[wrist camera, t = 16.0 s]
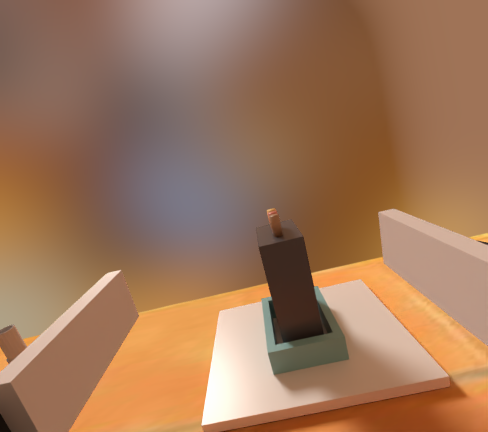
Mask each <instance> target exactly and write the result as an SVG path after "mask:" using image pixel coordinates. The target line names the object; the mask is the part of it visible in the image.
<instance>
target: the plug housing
mask: <svg viewBox="0 0 488 432" xmlns="http://www.w3.org/2000/svg"><path fill="white" fill-rule="evenodd" d="M267 214H268V218H269V223H270V225H266V226H262V227H258V228H256V233H257V240H258V246H259V250H260V254H261V258H262V262H263V266H264V270H265V274H266V278H267V281H268V286H269V290H270V294H271V297H272V301H273V305H274V309H275V313H276V317H277V321H278V325H279V329H280V333H281V337H282V340H283V343H286V342H291V341H295V340H300V339H305V338H309V337H314V336H319V335H323V334H324V332H323V327H322V322H321V318H320V313H319V308H318V304H317V299H316V294H315V289H314V285H313V280H312V275H311V271H310V266H309V261H308V257H307V252H306V247H305V242H304V237H303V235H302V234H301V232H300V231H299V229H298V228H297V227H296V225H295V224H294V222H293V221H292V220H291V219H290V220H287V221H282V222H280V220H279V215H278V214H277V211H276V210H275V209H274V208H273V209H269V210H267Z"/></svg>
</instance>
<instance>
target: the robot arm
mask: <svg viewBox="0 0 488 432" xmlns="http://www.w3.org/2000/svg"><path fill="white" fill-rule="evenodd" d="M378 214H379V223H380V232H381V241H382V251H383V260H384V264H385V265H387V266H388V267H389V268H390V269H392V270H393V271H394V272H395V273H397V274H398V275H399V276H401V277H402V278H403V279H404V280H406V281H407V282H408V283H409V284H411V285H412V286H413V287H414V288H416V289H417V290H418V291H419V292H421V293H422V294H423V295H424V296H426V297H427V298H428V299H429V300H431V301H432V302H433V303H434V304H436V305H437V306H438V307H439V308H441V309H442V310H443V311H444V312H446V313H447V314H448V315H449V316H451V317H452V318H453V319H454V320H456V321H457V322H458V323H459V324H461V325H462V326H463V327H464V328H466V329H467V330H468V331H469V332H471V333H472V334H473V335H475V336H476V337H477V338H478V339H480V340H481V341H482V342H483V343H485V344H486V345H487V346H488V243H487V242H481V241H476V240H473V239H471V238H468V237H465V236H463V235H460V234H458V233H455V232H453V231H450V230H447V229H445V228H442V227H440V226H437V225H435V224H432V223H429V222H427V221H424V220H421V219H419V218H416V217H414V216H411V215H409V214H406V213H404V212H401V211H399V210H396V209H391V210H386V211H382V212H378ZM138 317H139V315H138V312H137V310H136V307H135V304H134V302H133V300H132V297H131V294H130V292H129V289H128V286H127V284H126V281H125V278H124V276H123V273H122V271H121V270H119V271H114V272H110V273H107V274H106V275H105V276H103V277H102V278H101V279H100V280H99V281H98V282H97V283H96V284H95V285H94V286H93V287H92V288H91V289H89V290H88V291H87V292H86V293H85V294H84V295H83V296H82V297H81V298H80V299H79V300H78V301H77V302H75V303H74V304H73V305H72V306H71V307H70V308H69V309H68V310H67V311H66V312H65V313H64V314H62V315H61V316H60V317H59V318H58V319H57V320H56V321H55V322H54V323H53V324H52V325H51V326H50V327H49V328H48V329H46V330H45V331H44V332H43V333H42V334H41V335H40V336H39V337H38V338H37V339H36V340H34V341H33V342H32V343H31V344H30V345H29V346H28V347H27V348H26V349H25V350H24V351H23V352H22V353H20V354H19V355H18V356H17V357H16V358H15V359H14V360H13V361H12V362H11V363H10V364H9V365H8V366H6V367H5V368H4V369H3V370H2V371H1V372H0V432H68V431H69V430H70V428H71V427H72V425H73V423H74V422H75V420H76V418H77V417H78V415H79V413H80V412H81V410H82V409H83V407H84V405H85V404H86V402H87V400H88V399H89V397H90V395H91V394H92V392H93V390H94V389H95V387H96V386H97V384H98V382H99V381H100V379H101V377H102V376H103V374H104V372H105V371H106V369H107V368H108V366H109V364H110V363H111V361H112V359H113V358H114V356H115V354H116V353H117V351H118V349H119V348H120V346H121V345H122V343H123V341H124V340H125V338H126V336H127V335H128V333H129V331H130V330H131V328H132V327H133V325H134V323H135V322H136V320H137V318H138Z"/></svg>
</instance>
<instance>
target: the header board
mask: <svg viewBox="0 0 488 432" xmlns="http://www.w3.org/2000/svg"><path fill="white" fill-rule="evenodd" d="M314 289H315V294H316V299H317V304H318V308H319V313H320V318H321V322H322V327H323V332H324V334H323V335H319V336H314V337H309V338H305V339H300V340H295V341H291V342H286V343H283V340H282V337H281V333H280V329H279V325H278V321H277V317H276V313H275V309H274V305H273V301H272V297H267V298H263V299H262V302H258V303H253V304H249V305H244V306H240V307H235V308H231V309H227V310H222V311H220V312H219V318H218V324H217V331H216V337H215V343H214V350H213V356H212V362H211V369H210V375H209V381H208V388H207V394H206V400H205V406H204V413H203V419H202V425H201V426H202V428H203V431H204V432H222V431H227V430H232V429H237V428H242V427H247V426H252V425H257V424H262V423H267V422H272V421H278V420H283V419H288V418H293V417H298V416H303V415H308V414H313V413H318V412H323V411H328V410H333V409H338V408H344V407H349V406H354V405H359V404H364V403H369V402H374V401H379V400H384V399H389V398H394V397H399V396H404V395H410V394H415V393H420V392H425V391H430V390H435V389H440V388H445V387H450V379H449V375H448V374H447V373H446V372H445V371H444V370H443V369H442V368H441V367H440V366H439V364H438V363H437V362H436V361H435V360H434V359H433V358H432V357H431V356H430V355H429V354H428V352H427V351H426V350H425V349H424V348H423V347H422V346H421V345H420V344H419V343H418V342H417V340H416V339H415V338H414V337H413V336H412V335H411V334H410V333H409V332H408V331H407V329H406V328H405V327H404V326H403V325H402V324H401V323H400V322H399V321H398V320H397V319H396V317H395V316H394V315H393V314H392V313H391V312H390V311H389V310H388V309H387V308H386V307H385V305H384V304H383V303H382V302H381V301H380V300H379V299H378V298H377V297H376V296H375V295H374V293H373V292H372V291H371V290H370V289H369V288H368V287H367V286H366V285H365V284H364V282H363V281H362V280H361V279H359V280H355V281H351V282H346V283H342V284H337V285H333V286H328V287H324V288H320V289H319V288H318V286H316V287H314Z"/></svg>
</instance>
